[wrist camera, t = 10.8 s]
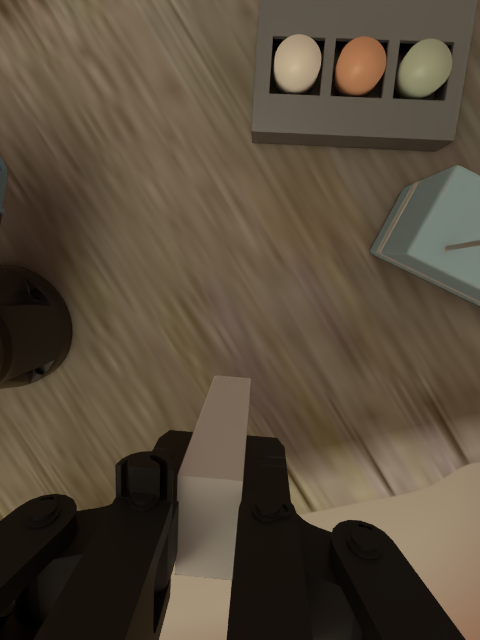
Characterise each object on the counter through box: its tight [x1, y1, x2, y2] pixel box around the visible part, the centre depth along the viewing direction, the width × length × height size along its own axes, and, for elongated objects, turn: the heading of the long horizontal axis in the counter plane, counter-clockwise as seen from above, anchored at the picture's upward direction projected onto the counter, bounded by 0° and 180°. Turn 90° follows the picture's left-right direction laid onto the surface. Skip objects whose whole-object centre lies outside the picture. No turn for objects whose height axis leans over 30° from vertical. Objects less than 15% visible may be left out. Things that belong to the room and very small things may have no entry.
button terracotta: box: [333, 36, 386, 97], centre depth 35 cm, size 4×4×2 cm
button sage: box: [394, 39, 452, 100], centre depth 34 cm, size 4×4×2 cm
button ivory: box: [273, 34, 321, 95], centre depth 35 cm, size 4×4×2 cm
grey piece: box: [252, 0, 478, 151], centre depth 36 cm, size 20×12×4 cm, turn 87°
